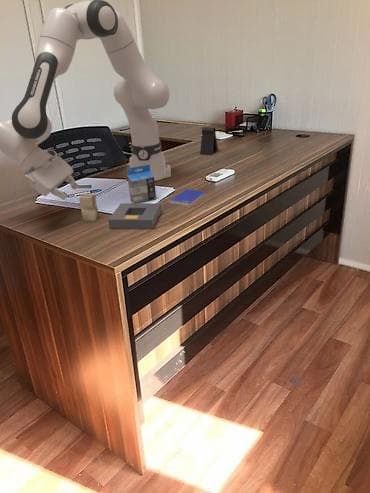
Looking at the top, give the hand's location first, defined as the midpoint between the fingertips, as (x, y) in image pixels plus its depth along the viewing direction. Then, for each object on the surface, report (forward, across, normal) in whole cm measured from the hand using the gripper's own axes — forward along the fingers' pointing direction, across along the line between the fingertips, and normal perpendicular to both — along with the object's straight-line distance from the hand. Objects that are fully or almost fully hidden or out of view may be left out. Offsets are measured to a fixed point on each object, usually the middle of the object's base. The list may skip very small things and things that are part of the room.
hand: (71, 192), depth 141 cm
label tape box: (+20, +17, -7) cm, 27 cm away
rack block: (+21, -1, -9) cm, 23 cm away
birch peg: (+10, 0, +3) cm, 10 cm away
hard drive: (+32, +19, -18) cm, 41 cm away
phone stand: (+32, +82, -20) cm, 91 cm away
